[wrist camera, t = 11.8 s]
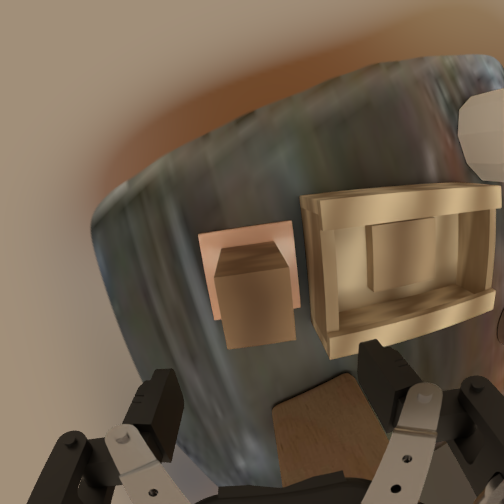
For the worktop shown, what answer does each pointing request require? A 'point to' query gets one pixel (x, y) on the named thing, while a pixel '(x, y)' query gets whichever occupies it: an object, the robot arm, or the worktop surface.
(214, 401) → the worktop surface
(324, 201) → the crate
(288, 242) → the tile
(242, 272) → the walnut block
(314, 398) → the wooden block
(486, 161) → the toilet paper
